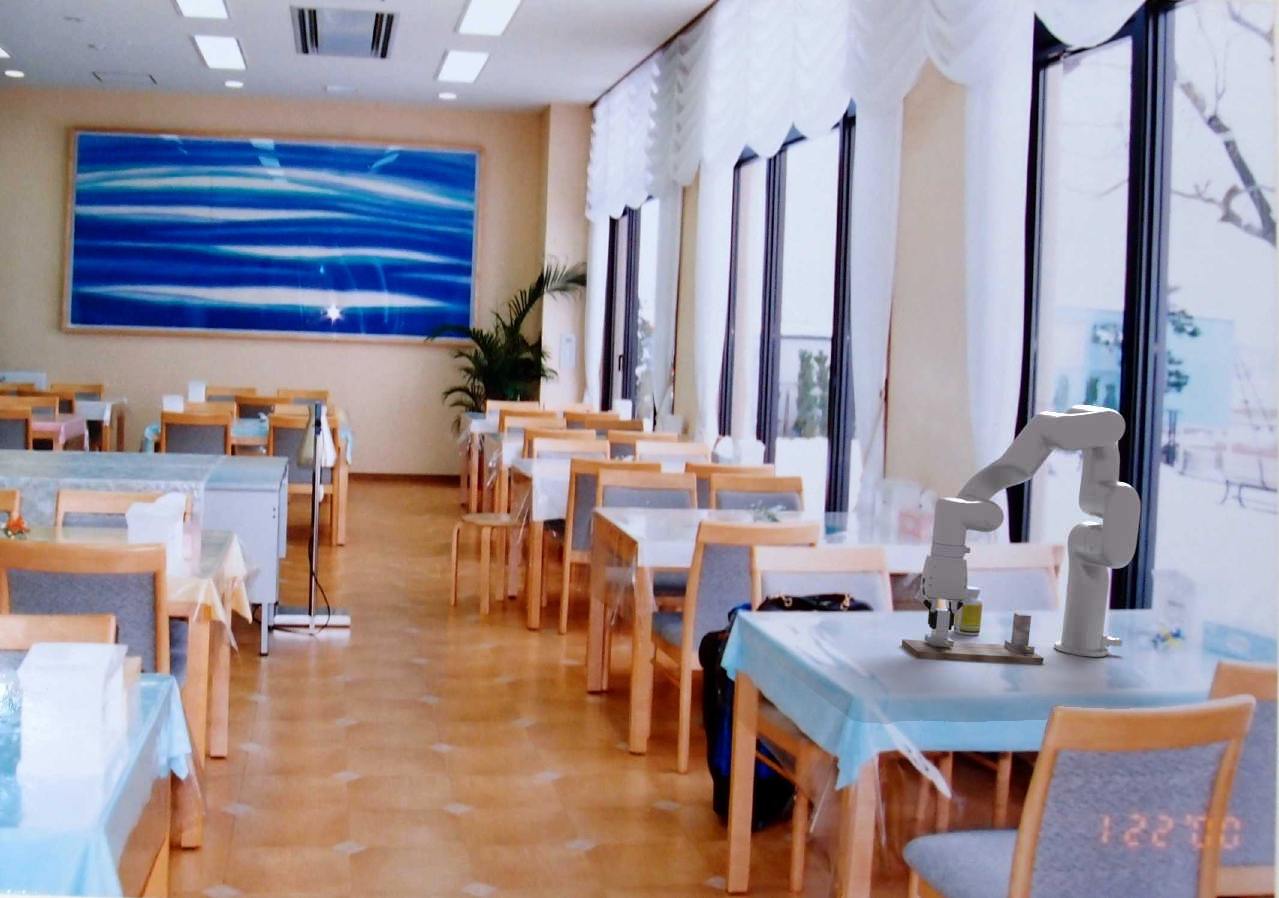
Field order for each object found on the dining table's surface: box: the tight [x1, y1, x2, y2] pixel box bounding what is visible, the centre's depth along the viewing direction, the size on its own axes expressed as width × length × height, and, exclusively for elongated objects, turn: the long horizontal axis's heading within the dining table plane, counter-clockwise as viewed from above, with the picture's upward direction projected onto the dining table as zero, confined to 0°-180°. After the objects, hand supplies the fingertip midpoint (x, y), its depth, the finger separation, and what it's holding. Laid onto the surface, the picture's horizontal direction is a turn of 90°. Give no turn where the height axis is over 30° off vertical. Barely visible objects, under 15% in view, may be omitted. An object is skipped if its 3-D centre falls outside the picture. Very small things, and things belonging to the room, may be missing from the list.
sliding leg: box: [924, 607, 955, 647], centre depth 330 cm, size 5×9×8 cm, turn 6°
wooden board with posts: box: [901, 612, 1045, 665], centre depth 331 cm, size 30×12×10 cm, turn 96°
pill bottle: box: [953, 585, 983, 636], centre depth 355 cm, size 6×6×12 cm
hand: (940, 627), depth 331 cm, fingers closed on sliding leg, 3 cm apart
